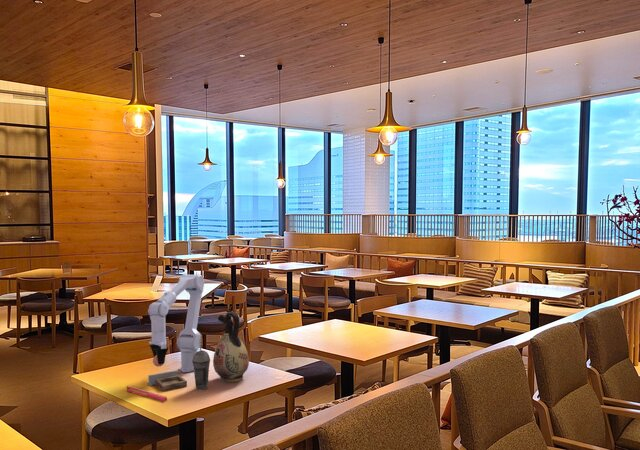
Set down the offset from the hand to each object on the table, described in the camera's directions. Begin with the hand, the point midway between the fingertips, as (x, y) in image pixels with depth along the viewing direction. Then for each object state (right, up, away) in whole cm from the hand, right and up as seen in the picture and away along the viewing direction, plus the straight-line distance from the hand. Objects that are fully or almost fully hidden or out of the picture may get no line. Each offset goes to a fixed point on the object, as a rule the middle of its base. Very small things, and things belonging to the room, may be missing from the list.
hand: (159, 362), depth 209 cm
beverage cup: (+20, -9, -8) cm, 23 cm away
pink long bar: (0, -10, -15) cm, 17 cm away
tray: (+6, -9, -4) cm, 11 cm away
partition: (+1, -9, +1) cm, 9 cm away
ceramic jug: (+31, -9, +3) cm, 32 cm away
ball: (0, -2, 0) cm, 2 cm away
